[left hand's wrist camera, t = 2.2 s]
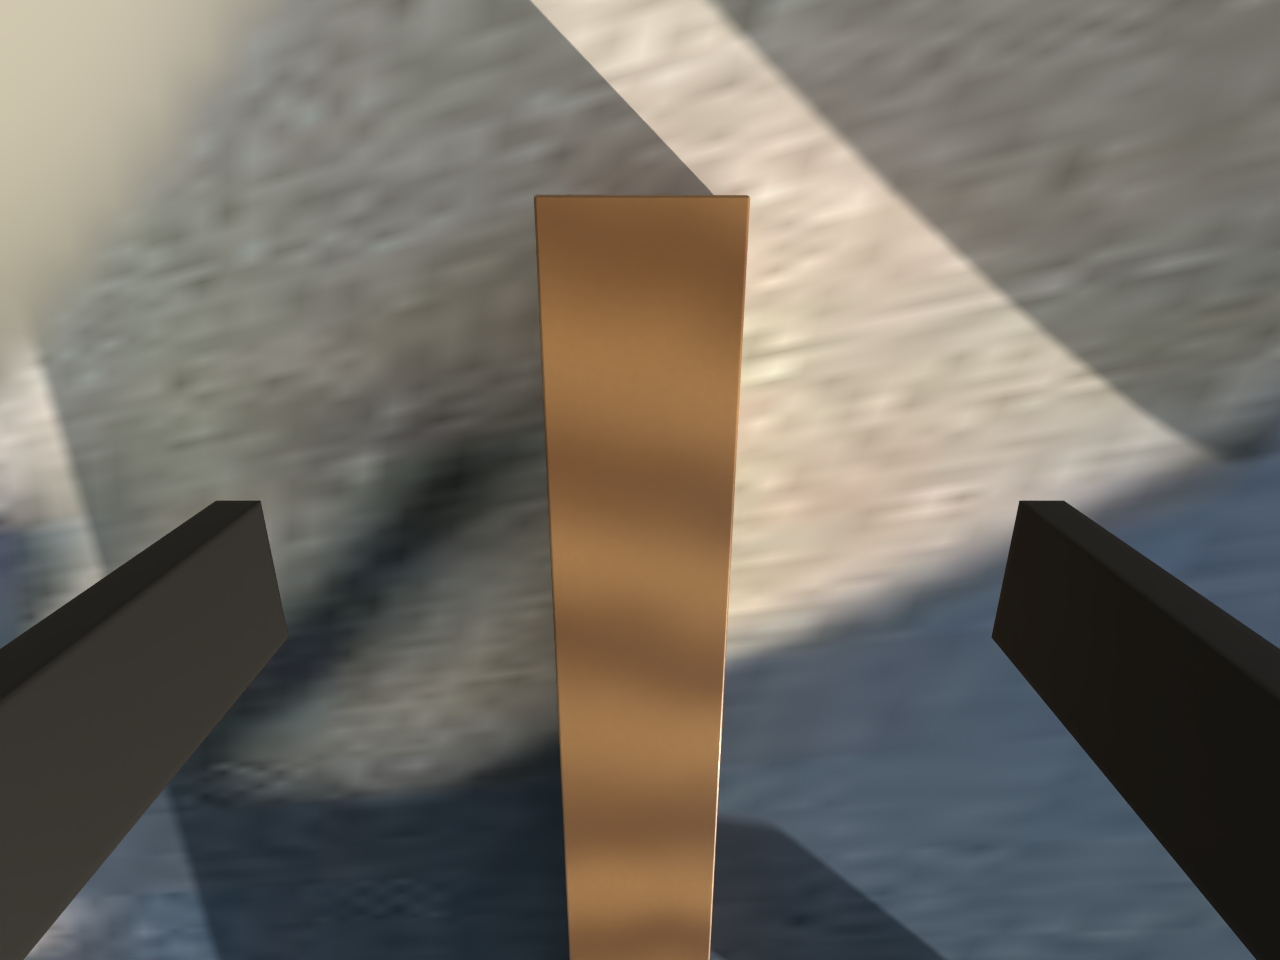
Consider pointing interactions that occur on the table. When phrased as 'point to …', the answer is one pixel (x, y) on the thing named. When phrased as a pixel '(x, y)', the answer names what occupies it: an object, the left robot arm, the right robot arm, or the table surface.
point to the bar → (640, 550)
